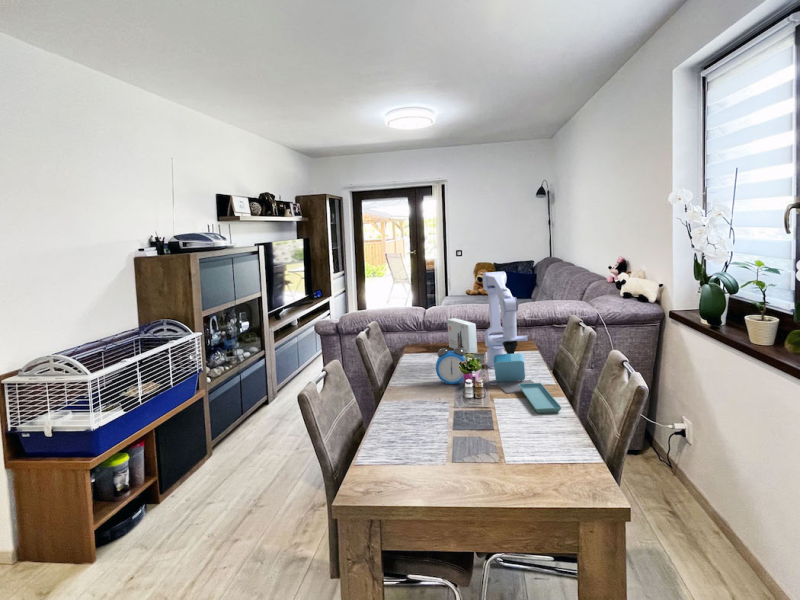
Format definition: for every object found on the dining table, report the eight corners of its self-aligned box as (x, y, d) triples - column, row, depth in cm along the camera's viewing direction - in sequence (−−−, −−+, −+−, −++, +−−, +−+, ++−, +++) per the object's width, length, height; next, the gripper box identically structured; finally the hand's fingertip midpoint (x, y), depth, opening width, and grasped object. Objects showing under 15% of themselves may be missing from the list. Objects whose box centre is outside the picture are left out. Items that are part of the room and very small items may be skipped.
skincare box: (448, 347, 284) (446, 318, 282) (456, 346, 287) (455, 317, 284) (468, 355, 265) (467, 324, 263) (477, 353, 268) (476, 323, 265)
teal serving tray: (562, 413, 178) (562, 406, 178) (535, 414, 178) (535, 407, 178) (541, 388, 204) (541, 382, 204) (518, 390, 204) (517, 383, 204)
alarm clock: (436, 385, 218) (435, 350, 216) (436, 380, 224) (435, 346, 222) (468, 384, 216) (466, 349, 214) (467, 380, 222) (466, 345, 220)
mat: (495, 384, 215) (495, 383, 215) (530, 380, 217) (530, 379, 217) (506, 393, 202) (506, 392, 202) (543, 390, 204) (543, 389, 204)
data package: (524, 372, 218) (523, 352, 211) (525, 380, 215) (524, 360, 208) (495, 373, 221) (493, 354, 213) (496, 382, 217) (493, 362, 210)
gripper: (495, 330, 210) (496, 362, 212) (530, 327, 212) (530, 359, 214) (490, 327, 217) (491, 358, 219) (523, 324, 219) (524, 355, 221)
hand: (510, 358), depth 217 cm, fingers closed
